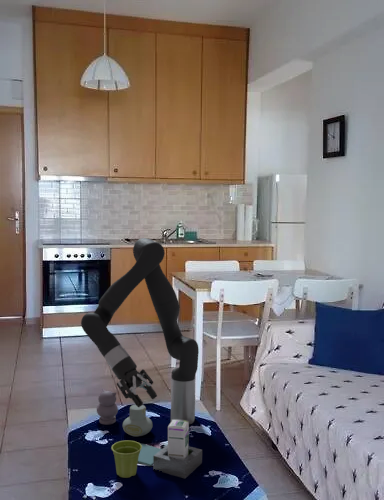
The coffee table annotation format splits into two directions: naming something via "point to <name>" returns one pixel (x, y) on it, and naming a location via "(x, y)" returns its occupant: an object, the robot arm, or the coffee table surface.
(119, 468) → the plant pot
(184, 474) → the collar
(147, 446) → the mat
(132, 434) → the air freshener
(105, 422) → the cat figurine
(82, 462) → the coffee table surface
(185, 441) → the syrup box
